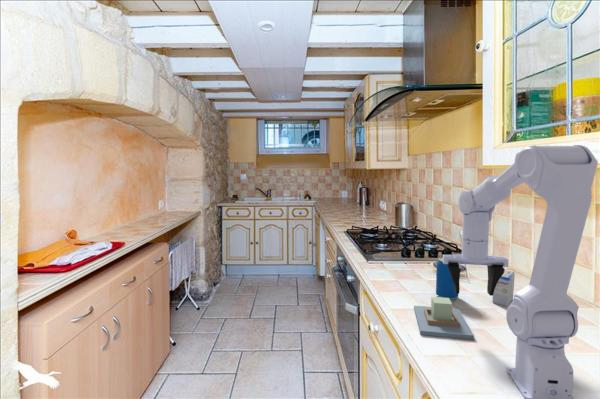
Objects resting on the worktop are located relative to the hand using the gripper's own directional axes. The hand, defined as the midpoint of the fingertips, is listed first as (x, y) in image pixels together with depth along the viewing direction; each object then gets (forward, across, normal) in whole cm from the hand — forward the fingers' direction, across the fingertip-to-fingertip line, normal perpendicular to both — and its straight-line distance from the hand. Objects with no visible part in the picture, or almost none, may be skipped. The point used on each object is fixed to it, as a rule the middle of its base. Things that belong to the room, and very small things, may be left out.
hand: (473, 293), depth 86 cm
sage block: (+8, +7, -2) cm, 11 cm away
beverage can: (+9, +2, -22) cm, 24 cm away
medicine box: (+10, -14, -22) cm, 28 cm away
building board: (+9, +7, -2) cm, 12 cm away
